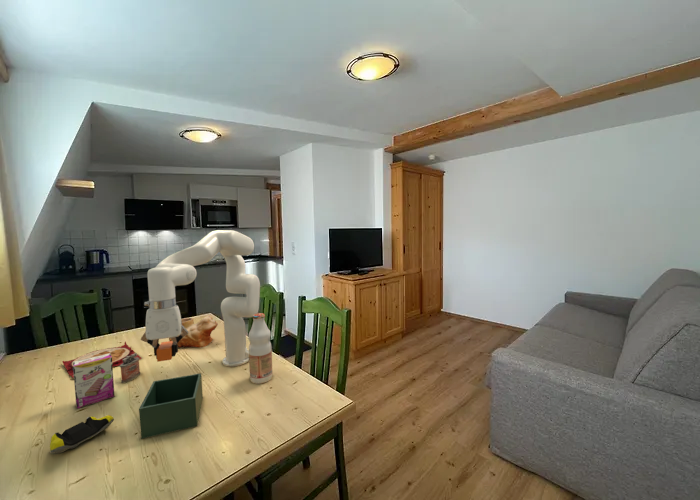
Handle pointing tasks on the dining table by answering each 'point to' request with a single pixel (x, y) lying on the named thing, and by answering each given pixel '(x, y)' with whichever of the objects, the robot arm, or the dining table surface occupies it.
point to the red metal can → (130, 368)
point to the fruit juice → (260, 350)
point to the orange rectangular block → (164, 351)
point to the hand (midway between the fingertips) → (166, 355)
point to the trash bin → (171, 405)
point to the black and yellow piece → (79, 433)
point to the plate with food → (115, 352)
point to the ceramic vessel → (197, 332)
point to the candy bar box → (93, 380)
